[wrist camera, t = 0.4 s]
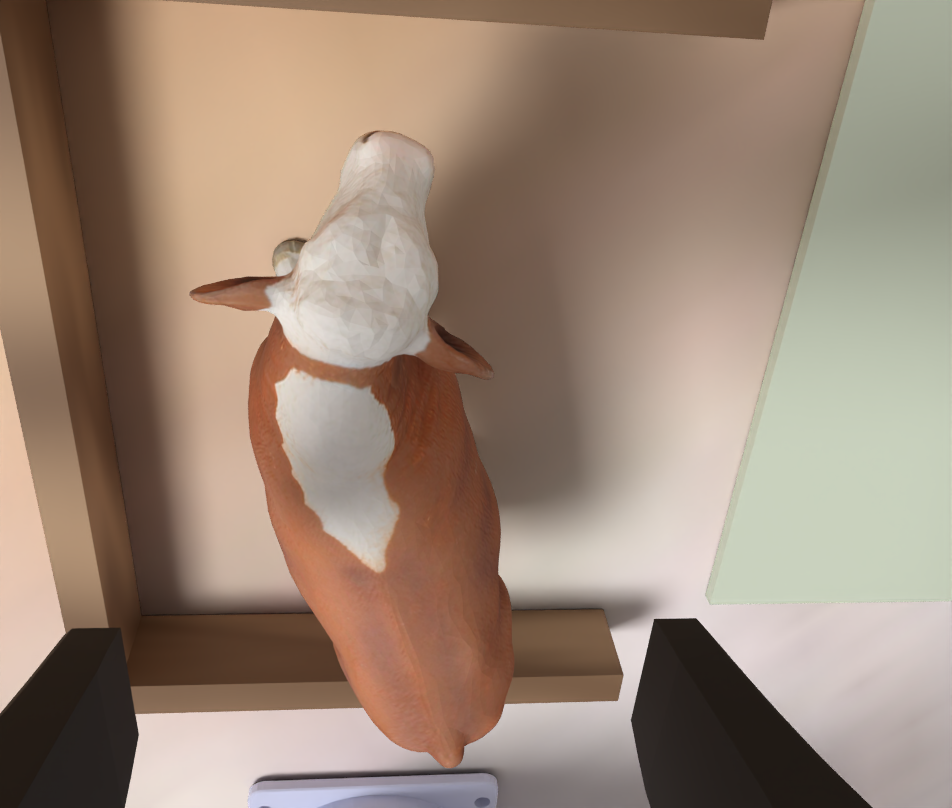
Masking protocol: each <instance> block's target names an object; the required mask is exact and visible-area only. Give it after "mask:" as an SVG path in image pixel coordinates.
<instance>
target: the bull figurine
mask: <svg viewBox="0 0 952 808" xmlns="http://www.w3.org/2000/svg"><path fill="white" fill-rule="evenodd" d="M434 169H435V167H434V159H433V156H432V154H431V152H430V151H429V150H428V149H427V148H426V147H425V146H423V145H422V144H420V143H418V142H417V141H415V140H413V139H411V138H409V137H406V136H404V135H402V134H400V133H396V132H391V131H373V132H368V133H366V134H364V135H362V136H361V137H359V138H358V139H357V140H356V142H355V143H354V144H353V146H352V147H351V149H350V151H349V153H348V155H347V158H346V160H345V162H344V165H343V167H342V170H341V176H340V185H339V189H338V192H337V194H336V195H335V197H334V199H333V200H332V202H331V203H330V205H329V207H328V208H327V210H326V212H325V213H324V215H323V217H322V219H321V221H320V223H319V225H318V227H317V229H316V230H315V232H314V234H313V235H312V237H311V239H310V240H308V241H307V242H306V243H303V242H299V241H296V240H292V241H286V242H283V243H281V244H280V245H278V246H277V247H276V248H275V251H274V253H273V267H274V270H275V272H276V275H277V277H243V278H235V279H228V280H224V281H220V282H216V283H211V284H207V285H203V286H201V287H198V288H196V289H194V290H192V291H190V293H189V295H190V296H191V297H192V298H193V299H194V300H196V301H198V302H201V303H206V304H214V305H225V306H229V307H232V308H236V309H240V310H243V311H256V310H262V311H268V312H270V313H272V314H274V315H275V319H274V321H273V324H272V326H271V329H270V331H269V335H268V337H267V338H266V339H265V340H264V341H263V343H262V344H261V345H260V347H259V349H258V351H257V354H256V356H255V359H254V361H253V365H252V368H251V374H250V385H249V399H248V415H249V430H250V439H251V443H252V447H253V451H254V454H255V458H256V461H257V465H258V468H259V470H260V473H261V476H262V479H263V481H264V484H265V491H266V498H267V505H268V512H269V515H270V519H271V522H272V525H273V528H274V531H275V533H276V536H277V538H278V541H279V544H280V546H281V549H282V551H283V554H284V557H285V561H286V563H287V566H288V569H289V571H290V574H291V576H292V578H293V580H294V582H295V584H296V585H297V587H298V589H299V591H300V593H301V594H302V596H303V598H304V599H305V601H306V602H307V604H308V605H309V607H310V608H311V610H312V611H313V613H314V614H315V616H316V617H317V619H318V620H319V622H320V623H321V625H322V626H323V628H324V629H325V631H326V632H327V634H328V636H329V637H330V639H331V640H332V642H333V646H334V649H335V652H336V655H337V658H338V661H339V664H340V666H341V668H342V670H343V672H344V674H345V676H346V678H347V680H348V682H349V684H350V686H351V688H352V689H353V691H354V693H355V695H356V697H357V698H358V700H359V702H360V704H361V705H362V707H363V708H364V710H365V711H366V713H367V714H368V716H369V717H370V719H371V720H372V721H373V723H374V724H375V725H376V726H377V727H378V728H379V729H380V730H381V731H382V732H383V733H384V734H385V735H386V736H387V737H388V738H389V739H390V740H391V741H392V742H394V743H395V744H397V745H399V746H401V747H403V748H405V749H408V750H411V751H416V752H428V753H429V754H431V755H432V756H433V757H434V758H435V759H436V760H437V761H438V762H439V763H440V764H441V765H442V766H444V767H446V768H453V767H456V766H457V765H458V764H460V763H461V761H462V759H463V755H464V746H466V745H467V744H470V743H472V742H474V741H477V740H478V739H480V738H482V737H483V736H485V735H486V734H487V733H488V732H489V731H491V730H492V729H493V728H494V727H495V726H496V724H497V723H498V721H499V720H500V717H501V715H502V712H503V708H504V704H505V699H506V696H507V693H508V690H509V687H510V684H511V681H512V677H513V672H514V651H513V644H512V611H511V603H510V597H509V594H508V591H507V588H506V586H505V583H504V582H503V580H502V578H501V577H500V576H499V575H498V562H499V552H500V539H501V527H500V516H499V510H498V505H497V500H496V497H495V493H494V490H493V487H492V485H491V482H490V479H489V477H488V475H487V473H486V471H485V468H484V466H483V464H482V462H481V460H480V458H479V456H478V452H477V448H476V445H475V441H474V437H473V433H472V430H471V428H470V425H469V422H468V420H467V417H466V414H465V411H464V407H463V402H462V397H461V392H460V388H459V384H458V381H457V378H456V375H455V373H462V374H469V375H472V376H475V377H479V378H481V379H484V380H488V379H491V378H493V377H494V371H493V370H492V368H491V366H490V365H489V364H488V363H487V362H486V361H485V359H484V358H483V357H482V356H481V355H480V354H479V353H477V352H476V351H475V350H474V349H473V348H472V347H471V346H469V345H468V344H467V343H465V342H464V341H463V340H461V339H459V338H457V337H455V336H453V335H451V334H450V333H448V332H447V331H446V330H445V329H444V328H443V327H442V326H441V325H439V324H438V323H437V322H435V321H434V320H432V319H431V318H429V317H428V312H429V310H430V308H431V306H432V304H433V302H434V300H435V298H436V296H437V294H438V289H439V286H438V264H437V260H436V258H435V255H434V253H433V251H432V250H431V248H430V246H429V238H428V232H427V227H426V222H425V214H424V211H425V204H426V201H427V198H428V195H429V192H430V188H431V185H432V180H433V178H434V171H435V170H434Z"/></svg>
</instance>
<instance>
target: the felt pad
mask: <svg viewBox="0 0 952 808" xmlns="http://www.w3.org/2000/svg"><path fill="white" fill-rule="evenodd" d="M706 597H707V600H708V602H709V604H710V605H719V604H790V603H861V602H932V601H952V0H865V3H864V7H863V10H862V14H861V18H860V21H859V25H858V29H857V33H856V36H855V40H854V44H853V48H852V51H851V55H850V59H849V62H848V66H847V70H846V74H845V77H844V81H843V85H842V88H841V92H840V96H839V100H838V103H837V107H836V111H835V115H834V118H833V122H832V126H831V129H830V133H829V137H828V141H827V144H826V148H825V152H824V155H823V159H822V163H821V167H820V170H819V174H818V178H817V182H816V185H815V189H814V193H813V196H812V200H811V204H810V208H809V211H808V215H807V219H806V222H805V226H804V230H803V234H802V237H801V241H800V245H799V249H798V252H797V256H796V260H795V263H794V267H793V271H792V275H791V278H790V282H789V286H788V289H787V293H786V297H785V301H784V304H783V308H782V312H781V316H780V319H779V323H778V327H777V330H776V334H775V338H774V342H773V345H772V349H771V353H770V356H769V360H768V364H767V368H766V371H765V375H764V379H763V383H762V386H761V390H760V394H759V397H758V401H757V405H756V409H755V412H754V416H753V420H752V423H751V427H750V431H749V435H748V438H747V442H746V446H745V450H744V453H743V457H742V461H741V464H740V468H739V472H738V476H737V479H736V483H735V487H734V490H733V494H732V498H731V502H730V505H729V509H728V513H727V517H726V520H725V524H724V528H723V531H722V535H721V539H720V543H719V546H718V550H717V554H716V558H715V561H714V565H713V569H712V572H711V576H710V580H709V584H708V587H707V591H706Z"/></svg>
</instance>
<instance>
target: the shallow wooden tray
mask: <svg viewBox="0 0 952 808" xmlns="http://www.w3.org/2000/svg"><path fill="white" fill-rule="evenodd" d="M165 1H181V2H196V3H211V4H226V5H242V6H257V7H272V8H287V9H303V10H318V11H333V12H348V13H364V14H379V15H394V16H409V17H425V18H440V19H455V20H470V21H486V22H501V23H516V24H531V25H547V26H562V27H577V28H592V29H608V30H623V31H638V32H653V33H669V34H684V35H699V36H714V37H730V38H745V39H760V40H764V36H765V31H766V27H767V22H768V18H769V13H770V9H771V4H772V0H165ZM0 330H1V335H2V339H3V344H4V349H5V353H6V358H7V362H8V367H9V372H10V376H11V381H12V386H13V390H14V395H15V400H16V404H17V409H18V413H19V418H20V423H21V427H22V432H23V437H24V441H25V446H26V450H27V455H28V460H29V464H30V469H31V474H32V478H33V483H34V488H35V492H36V497H37V501H38V506H39V511H40V515H41V520H42V525H43V529H44V534H45V538H46V543H47V548H48V552H49V557H50V562H51V566H52V571H53V576H54V580H55V585H56V589H57V594H58V599H59V603H60V608H61V613H62V617H63V622H64V627H65V631H66V633H67V632H68V631H70V630H71V629H72V628H121V633H122V639H123V645H124V651H125V657H126V663H127V668H128V674H129V680H130V686H131V692H132V698H133V704H134V710H135V714H149V713H186V712H223V711H259V710H296V709H333V708H363V707H362V705H361V704H360V702H359V700H358V698H357V697H356V695H355V693H354V691H353V689H352V688H351V686H350V684H349V682H348V680H347V678H346V676H345V674H344V672H343V670H342V668H341V666H340V664H339V661H338V658H337V655H336V652H335V649H334V646H333V642H332V640H331V639H330V637H329V636H328V634H327V632H326V631H325V629H324V628H323V626H322V625H321V623H320V622H319V620H318V619H317V617H316V616H315V614H314V613H307V614H238V615H169V616H142V615H141V609H140V603H139V596H138V590H137V583H136V577H135V570H134V564H133V558H132V551H131V545H130V538H129V532H128V525H127V519H126V513H125V506H124V500H123V493H122V487H121V480H120V474H119V468H118V461H117V455H116V448H115V442H114V435H113V429H112V423H111V416H110V410H109V403H108V397H107V390H106V384H105V378H104V371H103V365H102V358H101V352H100V345H99V339H98V333H97V326H96V320H95V313H94V307H93V300H92V294H91V288H90V281H89V275H88V268H87V262H86V255H85V249H84V243H83V236H82V230H81V223H80V217H79V210H78V204H77V198H76V191H75V185H74V178H73V172H72V165H71V159H70V153H69V146H68V140H67V133H66V127H65V120H64V114H63V108H62V101H61V95H60V88H59V82H58V75H57V69H56V63H55V56H54V50H53V43H52V37H51V31H50V24H49V18H48V11H47V5H46V0H0ZM512 644H513V651H514V672H513V677H512V681H511V684H510V687H509V690H508V693H507V696H506V699H505V704H517V703H554V702H591V701H618V698H619V693H620V689H621V684H622V680H623V672H622V668H621V665H620V662H619V659H618V655H617V652H616V649H615V646H614V642H613V639H612V636H611V633H610V630H609V626H608V623H607V620H606V617H605V613H604V610H603V609H583V610H514V611H512Z"/></svg>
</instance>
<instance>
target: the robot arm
mask: <svg viewBox="0 0 952 808" xmlns="http://www.w3.org/2000/svg"><path fill="white" fill-rule="evenodd" d="M631 722H632V727H633V733H634V738H635V743H636V748H637V753H638V758H639V763H640V768H641V772H642V777H643V781H644V786H645V791H646V794H647V797H648V800H649V803H650V807H651V808H872V807H871V806H870V805H869V804H868V803H867V802H866V801H865V800H864V799H863V798H862V797H861V796H860V795H859V794H858V793H857V792H856V791H855V790H854V789H853V788H852V787H851V786H850V785H848V784H847V783H846V782H845V781H844V780H843V779H842V778H841V777H840V776H839V775H838V774H837V773H836V772H835V771H834V770H833V769H832V768H831V767H830V766H829V765H828V764H827V763H826V762H825V761H824V760H823V759H822V758H821V757H820V756H819V755H818V754H817V753H816V752H815V750H814V749H813V748H812V747H811V746H810V745H809V744H808V743H807V742H806V741H805V740H804V739H803V738H802V737H801V736H800V734H799V733H798V732H797V731H796V730H795V729H794V728H793V727H792V726H791V725H790V724H789V723H788V722H787V721H786V720H785V718H784V717H783V716H782V715H781V714H780V713H779V712H778V711H777V710H776V709H775V708H774V706H773V705H772V704H771V703H770V702H769V701H768V700H767V699H766V698H765V696H764V695H763V694H762V693H761V692H760V691H759V690H758V689H757V687H756V686H755V685H754V684H753V683H752V682H751V681H750V679H749V678H748V677H747V676H746V675H745V674H744V673H743V671H742V670H741V669H740V668H739V667H738V666H737V665H736V663H735V662H734V661H733V660H732V659H731V658H730V656H729V655H728V654H727V653H726V652H725V651H724V649H723V648H722V647H721V646H720V645H719V644H718V643H717V641H716V640H715V639H714V638H713V637H712V636H711V634H710V633H709V632H708V631H707V630H706V629H705V628H704V626H703V625H702V624H701V623H700V622H699V621H698V620H697V619H696V618H689V619H654V622H653V627H652V631H651V635H650V640H649V644H648V648H647V653H646V657H645V661H644V666H643V670H642V675H641V679H640V683H639V688H638V692H637V696H636V701H635V705H634V709H633V714H632V718H631ZM138 736H139V733H138V728H137V722H136V716H135V710H134V704H133V698H132V692H131V686H130V680H129V674H128V668H127V663H126V657H125V651H124V645H123V639H122V633H121V628H72V629H71V630H70V631H68V632H67V633H66V634H65V635H64V636H63V637H62V639H61V640H60V641H59V642H58V644H57V645H56V646H55V647H54V649H53V650H52V651H51V652H50V654H49V655H48V656H47V657H46V659H45V660H44V661H43V662H42V664H41V665H40V666H39V667H38V669H37V670H36V671H35V672H34V673H33V675H32V676H31V677H30V678H29V680H28V681H27V682H26V683H25V684H24V686H23V687H22V688H21V689H20V691H19V692H18V693H17V694H16V695H15V697H14V698H13V699H12V700H11V701H10V703H9V704H8V705H7V706H6V707H5V708H4V710H3V711H2V712H1V713H0V808H125V803H126V798H127V794H128V789H129V784H130V779H131V774H132V768H133V763H134V757H135V752H136V747H137V741H138ZM497 797H498V784H497V779H496V778H495V777H494V776H493V775H490V774H487V773H473V774H445V775H418V776H390V777H363V778H336V779H308V780H281V781H262V782H258V783H256V784H254V785H253V786H252V787H251V788H250V790H249V796H248V808H496V805H497Z"/></svg>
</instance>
